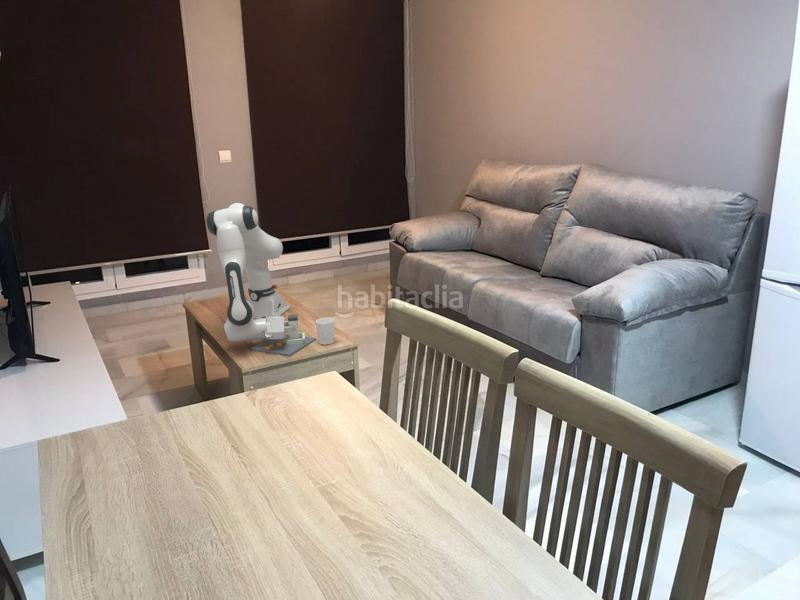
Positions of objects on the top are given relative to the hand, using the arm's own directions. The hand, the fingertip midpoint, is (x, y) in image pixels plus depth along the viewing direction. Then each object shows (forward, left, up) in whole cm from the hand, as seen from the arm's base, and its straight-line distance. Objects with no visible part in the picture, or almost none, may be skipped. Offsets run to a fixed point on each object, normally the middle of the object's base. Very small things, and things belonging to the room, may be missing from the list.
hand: (295, 325), depth 283 cm
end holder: (+1, -1, -8) cm, 8 cm away
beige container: (+1, -1, -5) cm, 6 cm away
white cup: (-4, +12, -8) cm, 15 cm away
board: (+5, -4, -8) cm, 10 cm away
